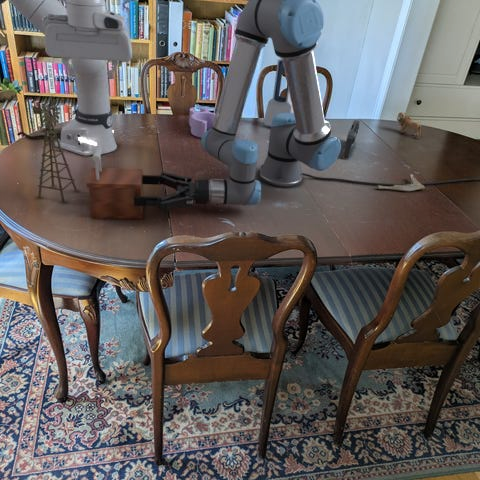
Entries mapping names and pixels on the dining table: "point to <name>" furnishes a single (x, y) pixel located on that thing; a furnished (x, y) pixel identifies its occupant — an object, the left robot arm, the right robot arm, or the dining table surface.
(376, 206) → the dining table surface
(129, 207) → the open box
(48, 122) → the miniature windmill
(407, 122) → the lion figurine
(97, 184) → the wooden panel with handle
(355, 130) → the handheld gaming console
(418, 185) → the jawbone
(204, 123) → the clip
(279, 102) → the electronic device
